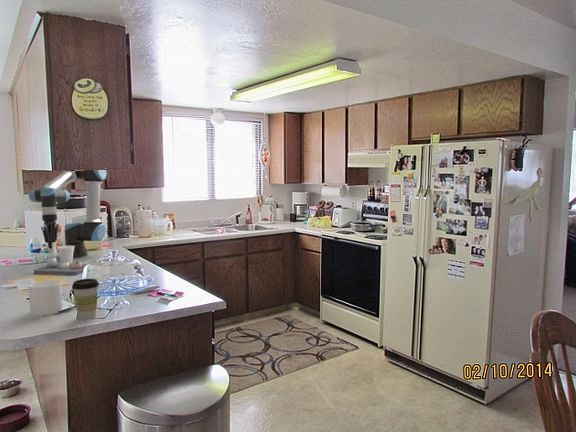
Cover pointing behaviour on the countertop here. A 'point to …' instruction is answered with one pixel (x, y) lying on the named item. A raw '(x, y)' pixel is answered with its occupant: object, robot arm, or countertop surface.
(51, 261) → the button one
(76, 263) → the button three
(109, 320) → the countertop surface
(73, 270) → the console
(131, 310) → the countertop surface
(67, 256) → the cup
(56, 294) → the cup
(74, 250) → the robot arm
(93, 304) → the coffee cup
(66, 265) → the button two
